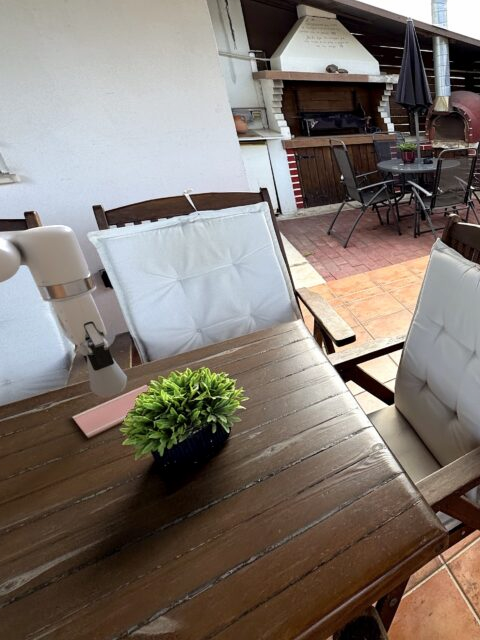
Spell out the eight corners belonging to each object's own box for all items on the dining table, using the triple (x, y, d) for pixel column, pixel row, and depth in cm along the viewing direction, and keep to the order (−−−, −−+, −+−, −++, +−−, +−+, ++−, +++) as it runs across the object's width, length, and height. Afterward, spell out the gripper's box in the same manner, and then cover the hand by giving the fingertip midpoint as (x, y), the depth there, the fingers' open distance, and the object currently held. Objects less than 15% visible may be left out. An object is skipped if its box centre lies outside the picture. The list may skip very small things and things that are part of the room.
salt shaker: (134, 388, 90) (114, 339, 86) (99, 403, 86) (76, 352, 81) (124, 380, 93) (105, 331, 88) (91, 394, 88) (68, 343, 84)
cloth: (88, 438, 83) (87, 436, 83) (72, 418, 89) (71, 416, 88) (164, 402, 93) (164, 400, 93) (146, 385, 99) (145, 384, 99)
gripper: (30, 284, 82) (64, 359, 88) (52, 304, 73) (89, 386, 79) (81, 272, 87) (110, 344, 94) (107, 289, 79) (137, 366, 85)
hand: (100, 362), depth 87 cm, fingers closed on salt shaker, 4 cm apart
